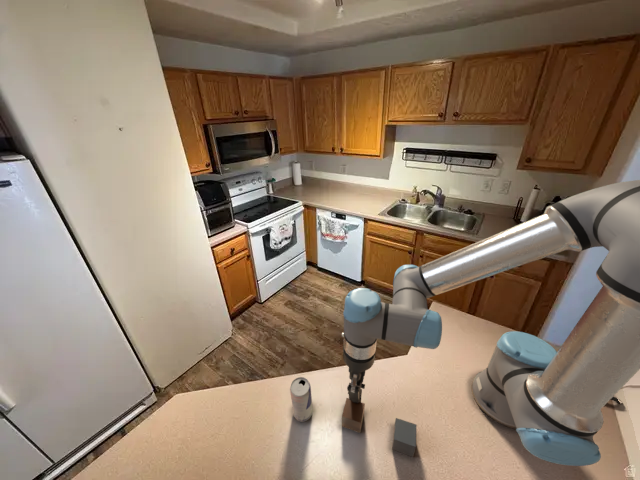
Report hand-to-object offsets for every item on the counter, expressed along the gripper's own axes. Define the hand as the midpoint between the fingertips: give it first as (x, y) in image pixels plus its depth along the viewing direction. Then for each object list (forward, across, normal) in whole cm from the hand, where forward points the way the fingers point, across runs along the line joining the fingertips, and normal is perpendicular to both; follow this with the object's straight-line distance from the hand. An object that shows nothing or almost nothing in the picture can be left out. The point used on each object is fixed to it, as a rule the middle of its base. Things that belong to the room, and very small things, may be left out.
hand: (355, 404), depth 72 cm
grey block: (+2, +4, +13) cm, 14 cm away
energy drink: (+2, +5, -14) cm, 15 cm away
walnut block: (+2, +3, 0) cm, 4 cm away
